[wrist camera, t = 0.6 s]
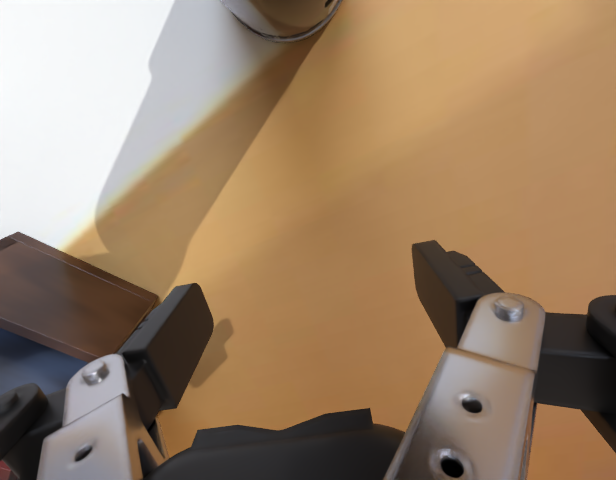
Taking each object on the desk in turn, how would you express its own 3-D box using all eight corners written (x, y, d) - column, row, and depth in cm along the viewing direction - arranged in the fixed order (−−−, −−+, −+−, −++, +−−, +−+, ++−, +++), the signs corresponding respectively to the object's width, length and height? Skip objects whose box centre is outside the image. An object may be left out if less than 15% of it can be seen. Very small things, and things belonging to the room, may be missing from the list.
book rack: (-3, 337, 38) (-185, 477, 24) (18, 231, 31) (-217, 339, 18) (116, 384, 41) (14, 531, 27) (158, 295, 34) (51, 431, 20)
